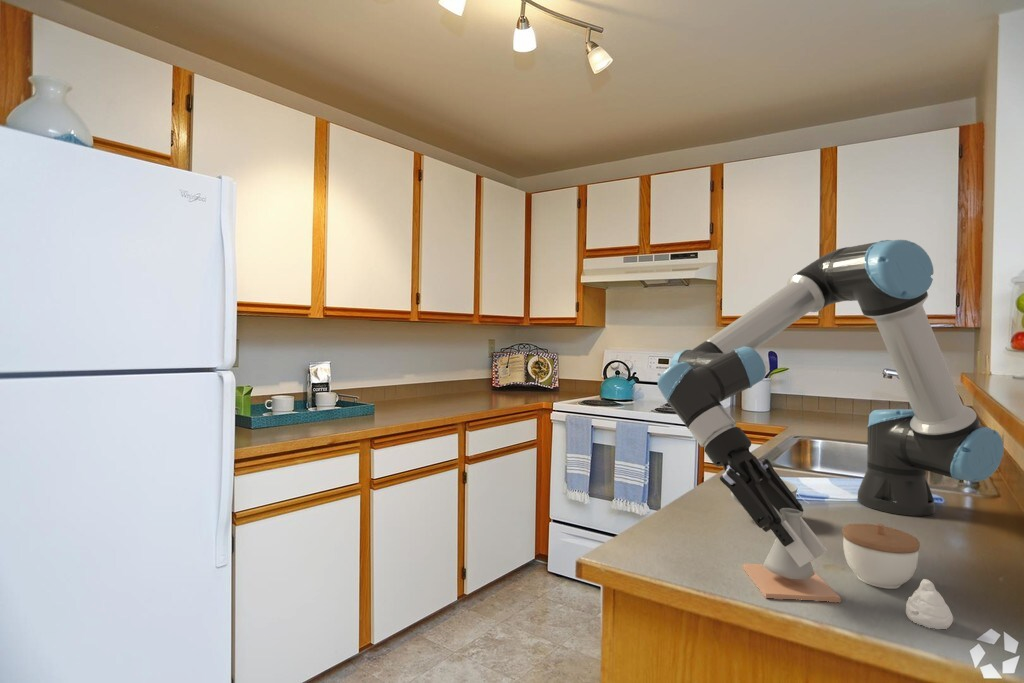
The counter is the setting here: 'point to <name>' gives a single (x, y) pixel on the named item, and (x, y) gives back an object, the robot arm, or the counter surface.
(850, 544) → the lidded jar
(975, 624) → the counter surface
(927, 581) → the garlic bulb
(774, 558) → the flask
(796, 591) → the coaster
